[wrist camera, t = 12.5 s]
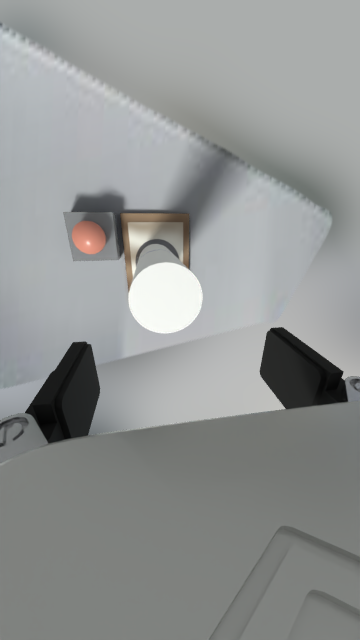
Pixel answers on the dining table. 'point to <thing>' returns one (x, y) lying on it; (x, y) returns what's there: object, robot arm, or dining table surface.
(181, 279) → the cylindrical container
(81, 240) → the button
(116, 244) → the button housing
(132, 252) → the sketch board
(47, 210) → the dining table surface
